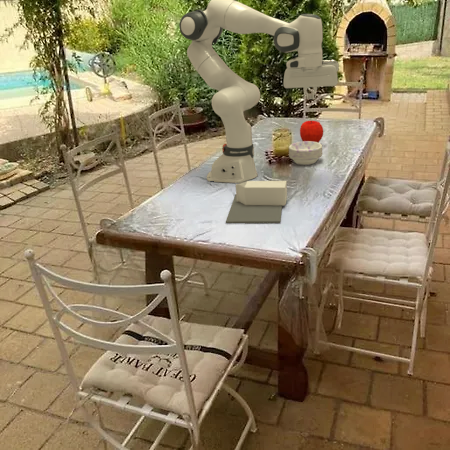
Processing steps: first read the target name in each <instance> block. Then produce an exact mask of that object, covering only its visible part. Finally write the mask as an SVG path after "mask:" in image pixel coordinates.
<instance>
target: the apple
mask: <svg viewBox="0 0 450 450" xmlns="http://www.w3.org/2000/svg"><path fill="white" fill-rule="evenodd" d="M299 135H300V139H301V142H303V141H312V142H318V143H320V141H321V140H322V139H323V136H324V127H323V125H322V124H321V122H319V121H316V120H306V121H304V122H302V124H301V126H300V127H299Z"/></svg>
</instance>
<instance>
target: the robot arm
mask: <svg viewBox="0 0 450 450" xmlns="http://www.w3.org/2000/svg"><path fill="white" fill-rule="evenodd" d="M178 26H179V31H180V34H181V35H182V37H184V38H185V39H186V40H188V41H191V43H190V44H189V46H188V47H187V50H186V55H187V57H188V59H189V62H190V63H191V65H192V66H193V68H194V69H195V71H196V72H197V73H198V75H199V76H200V77H201V78H202V79H203V80H204V82H205V83H206V85H207V86H208V87H210V88H211V89H213V90H216V91H217V92H216V93H215V94H213V96H212V98H211V107H212V110H213V111H214V113H215V114H216V115H217V116H218V117H220V119H221V121H222V124H223V126H224V130H225V139H226V143H223V144H222V154H220V156H218V157H217V158H216V159H215V160H214V161H213V163H212V164H211V170H210V171H209V172H208V173H207V175H206V180H207V182H210V181H214V182H213V183H230V184H231V183H233V184H234V183H235V184H240V183H243V182H246V181H251V180H253V179H255V178H257V177H258V172H257V168H256V163H255V159H254V158H255V147H254V142H253V135H252V134H253V133H252V130H253V129H252V125H251V124H250V123H249V122H247V120H246V118H245V114H244V112H245V111H247V110H250V109H252V108H253V107H255V106H256V105H258V103H259V101H260V99H261V92H260V91H261V90H260V89H259V87H258V86H257V85H256V84H254V83H251V82H249V81H247V80H245V79H244V78H242V77H241V76H239V75H238V74H237V73H236V72H234V71H233V70H232V69H231V68H230V67H229V66H228V65H227V64H226V63H225V61H224V60H223V59H222V58H221V57H220V56H219V54H218V53H217V52H216V51H215V49H214V47H213V46H214V45H216V44H217V42H218V40H219V39H220V37H221V35H222V33H223V30H226V31H229V32H231V33H234V34H239V35H240V34H241V35H248V34H256V33H257V34H258V33H259V34H260V33H261V34H267V35H270V36H273V45H274V46H275V49H276V50H277V51H279V52H281V53H292V52H297V53H298V55H297V56H296V57H294V58H291V59H289V60H288V61H287V62H286V69H285V71H284V73H283V74H284V76H283V87H284V88H285V89H295V88H296V89H297V88H298V89H299V88H301V89H302V88H303V92H304V93H305V95H306V98H305V100H314V99H315V94H316V92H317V90H318V88H319V87H335V86H337V85H338V81H339V79H338V71H339V67H340V63H339V62H338V61H336V60H335V59H331V60H330V59H329V60H327V59H323V48H322V44H323V39H324V38H323V37H324V36H323V22H322V18H321V17H320V16H319V15H317V14H314V13H303V14H302V13H301V14H300V15H299V16H297V18H296V19H294V20H292V21H291V22H290V21H289V22H288V21H285V20H282V19H279V18H276V17H273V16H270V15H268V14H265V13H263V12H260V11H258V10H256V9H254V8H252V7H250V6H248V5H246V4H244V3H243V2H239V1H237V0H210V1H209V2H208V4H207V6H206V9H205V10H202V9H197V10H193V11H190V12H187V13H184V15H183V16H182V17H181V18H180V20H179V25H178ZM308 88H313V91H312V93H308Z"/></svg>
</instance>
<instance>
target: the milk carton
mask: <svg viewBox="0 0 450 450" xmlns="http://www.w3.org/2000/svg"><path fill="white" fill-rule="evenodd" d="M287 183H288V181H287V180H246V181H244V182H241V183H235V193H236V198H237V202H241V203H243V204H244V205H282V206H286V203H287V200H288V199H287V198H288V189H287V186H288V185H287Z"/></svg>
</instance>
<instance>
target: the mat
mask: <svg viewBox="0 0 450 450" xmlns="http://www.w3.org/2000/svg"><path fill="white" fill-rule="evenodd" d="M282 212H283V205H244V204H243V203H241V202H237V198H236V194H234V198H233V200H232V203H231V206H230V208H229V211H228V214H227V216H226V220H225V224H226V223H245V224H281V221H282Z"/></svg>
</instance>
